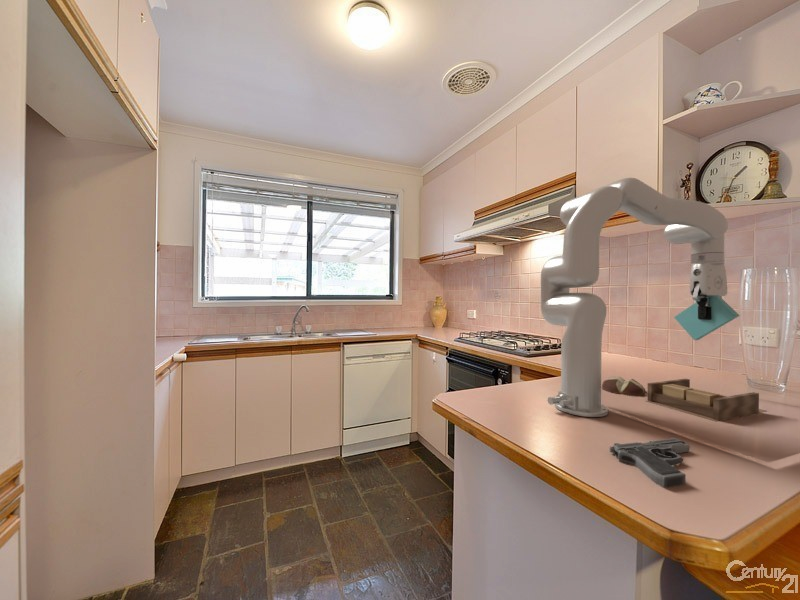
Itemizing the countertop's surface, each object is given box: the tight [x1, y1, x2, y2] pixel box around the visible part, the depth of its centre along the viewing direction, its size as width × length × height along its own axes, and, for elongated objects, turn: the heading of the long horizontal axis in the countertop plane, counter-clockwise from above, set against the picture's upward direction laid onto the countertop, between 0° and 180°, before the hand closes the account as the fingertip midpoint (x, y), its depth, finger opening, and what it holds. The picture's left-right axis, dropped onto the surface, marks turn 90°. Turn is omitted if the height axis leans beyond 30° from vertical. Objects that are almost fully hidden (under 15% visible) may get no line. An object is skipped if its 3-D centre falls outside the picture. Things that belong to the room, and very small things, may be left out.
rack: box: [645, 378, 767, 423], centre depth 88 cm, size 22×16×6 cm
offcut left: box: [663, 384, 694, 400], centre depth 88 cm, size 4×5×5 cm
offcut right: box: [686, 388, 721, 407], centre depth 83 cm, size 4×5×5 cm
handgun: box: [609, 437, 691, 488], centre depth 59 cm, size 2×17×12 cm
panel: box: [673, 296, 741, 341], centre depth 100 cm, size 2×9×13 cm
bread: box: [601, 376, 647, 397], centre depth 102 cm, size 11×11×5 cm
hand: (707, 319), depth 100 cm, fingers closed on panel, 1 cm apart
